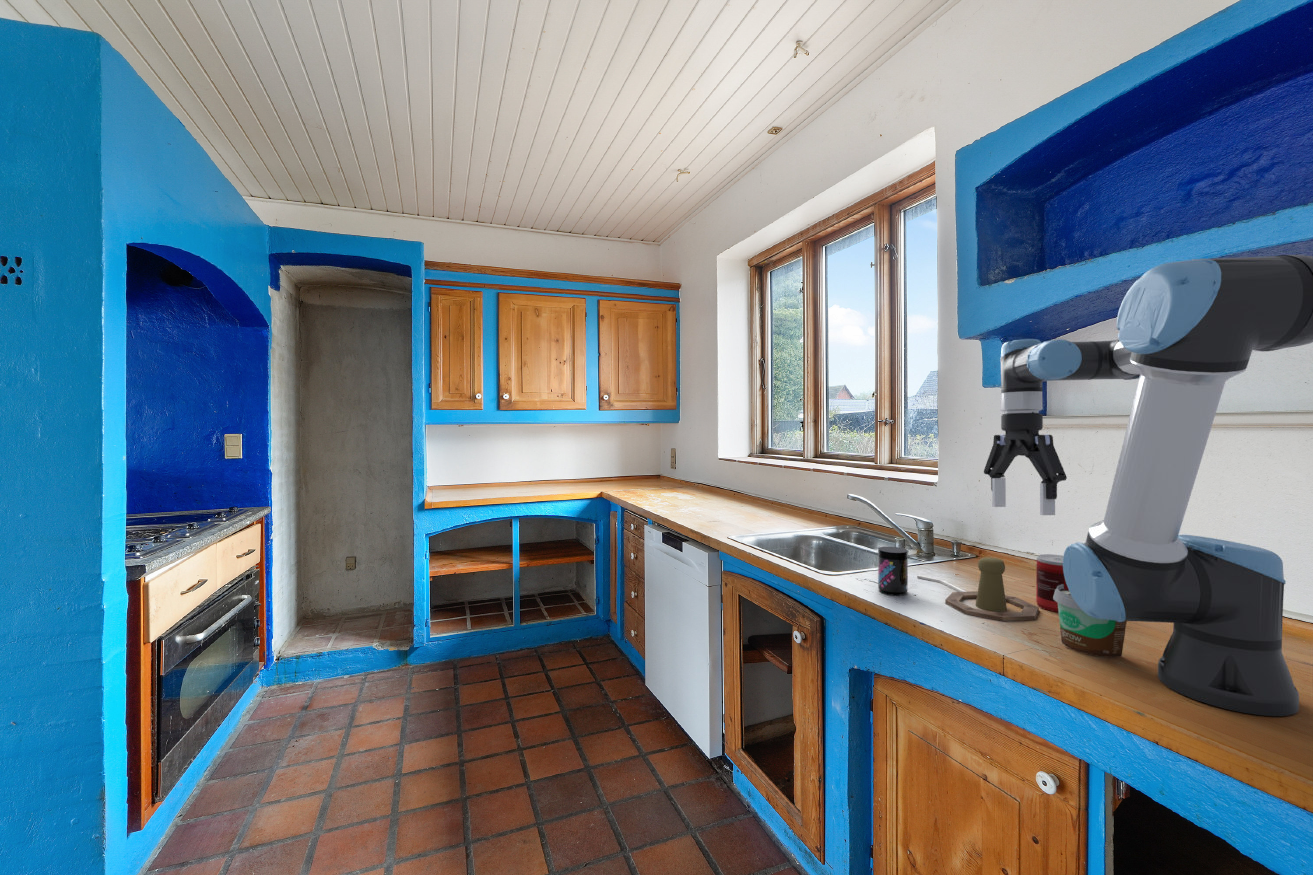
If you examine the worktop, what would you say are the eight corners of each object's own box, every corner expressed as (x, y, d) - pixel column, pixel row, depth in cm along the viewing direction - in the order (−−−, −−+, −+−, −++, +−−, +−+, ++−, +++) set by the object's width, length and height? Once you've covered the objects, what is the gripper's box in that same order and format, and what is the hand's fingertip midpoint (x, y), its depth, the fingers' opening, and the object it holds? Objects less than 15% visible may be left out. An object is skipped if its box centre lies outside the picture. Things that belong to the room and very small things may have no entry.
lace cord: (967, 594, 134) (967, 591, 134) (950, 594, 133) (950, 592, 133) (931, 576, 149) (931, 574, 149) (916, 577, 148) (916, 575, 148)
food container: (1036, 638, 107) (1037, 586, 106) (1059, 634, 109) (1060, 583, 108) (1107, 665, 95) (1108, 607, 95) (1131, 659, 97) (1132, 602, 97)
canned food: (1073, 604, 126) (1073, 555, 126) (1083, 615, 119) (1083, 564, 118) (1032, 599, 129) (1033, 552, 129) (1039, 610, 122) (1040, 560, 122)
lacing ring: (1056, 618, 117) (1057, 614, 117) (980, 622, 116) (980, 618, 116) (1000, 593, 134) (1000, 590, 134) (932, 596, 132) (932, 592, 132)
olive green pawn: (1013, 611, 122) (1013, 561, 121) (985, 611, 122) (985, 561, 121) (996, 602, 128) (997, 554, 127) (970, 602, 128) (970, 554, 127)
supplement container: (877, 586, 141) (877, 545, 140) (906, 589, 138) (907, 547, 138) (878, 594, 134) (878, 551, 134) (908, 597, 132) (909, 553, 132)
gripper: (1088, 409, 109) (1088, 518, 109) (995, 414, 134) (996, 503, 134) (1053, 409, 108) (1054, 519, 108) (966, 414, 133) (967, 503, 133)
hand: (1021, 510), depth 121 cm, fingers open, 13 cm apart
